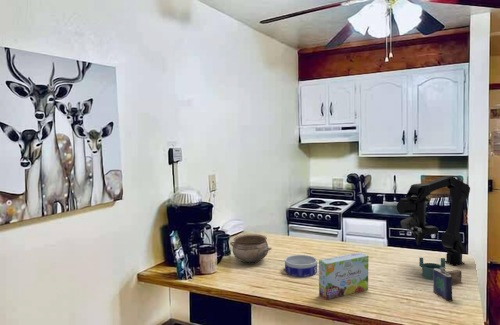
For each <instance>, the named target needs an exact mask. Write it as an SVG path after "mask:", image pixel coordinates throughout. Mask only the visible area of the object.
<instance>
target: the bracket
mask: <svg viewBox="0 0 500 325" xmlns="http://www.w3.org/2000/svg"><path fill="white" fill-rule="evenodd" d="M418 261H419V267H420V268H422V272H421V276H422V278H424V279H426V280H430V281H433V269H435V268H437V269H440V268H446V262H445V261H446V258H445V257H441V258H440V264H438V263H435V262H425V263H424V257H419V260H418ZM440 270H441V269H440Z"/></svg>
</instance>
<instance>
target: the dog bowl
mask: <svg viewBox="0 0 500 325" xmlns="http://www.w3.org/2000/svg"><path fill="white" fill-rule="evenodd" d="M284 270H285V274H287V275H288V276H290V277H295V278H309V277H313V276H315V275H316V274H318V260H317V258H316V257H315V256H312V255H308V254H293V255H289V256H286V257H285V259H284Z"/></svg>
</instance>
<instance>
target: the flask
mask: <svg viewBox="0 0 500 325" xmlns="http://www.w3.org/2000/svg"><path fill="white" fill-rule="evenodd" d="M440 269H441V270H440ZM440 269H437V268H435V269H433V280H432V282H433V286H432V290H433V291H432V292H433V293H434V294H435V295H436V294H437V296H438V297H441V298H442V299H444V300H445V301H447V302H452V301H453V284H452V276H451V275H450V274H449V273H447V271H448V270H446V269H447V267H445V268H440Z"/></svg>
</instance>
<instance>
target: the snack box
mask: <svg viewBox="0 0 500 325" xmlns="http://www.w3.org/2000/svg"><path fill="white" fill-rule="evenodd" d="M366 291H369V255H367V254H364V253H363V252H356V253H349V254H344V255H339V256H333V257H328V258H323V259H319V260H318V295H319V296H320V297H321V298H323V299H324V300H326V301H327V300H331V299H335V298H339V297H344V296H348V295H353V294H356V293H361V292H366Z"/></svg>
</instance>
